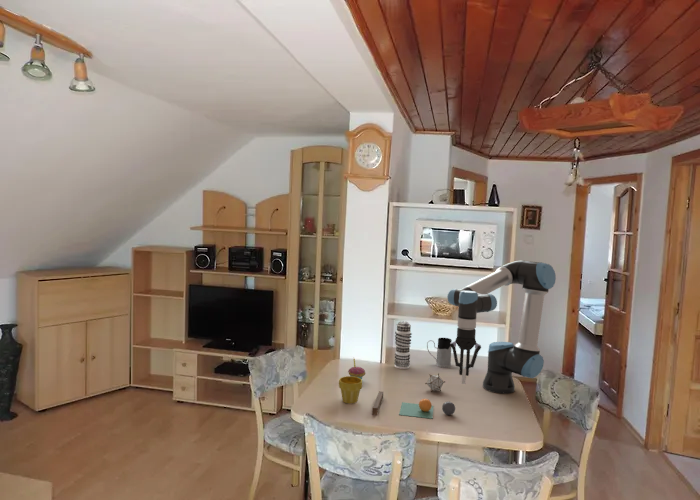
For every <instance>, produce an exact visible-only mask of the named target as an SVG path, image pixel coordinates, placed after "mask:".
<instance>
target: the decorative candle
mask: <svg viewBox="0 0 700 500" xmlns="http://www.w3.org/2000/svg"><path fill="white" fill-rule="evenodd" d="M411 327H412V326H411V324H410V322H408V321H404V320H403V321H399V322H398V323H396V331H395V333H394V334H395V335H394V337H395V338H394V340H395V342H394V343H395V353H394V368H396V369H401V370H407V369H409V368H410V365H411V364H410V363H411V360H410V359H411V354H410V353H411V352H410V348H411V344H412V342H411V341H412V339H411V338H412V335H413V333H412V332H411Z"/></svg>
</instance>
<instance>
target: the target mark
mask: <svg viewBox="0 0 700 500" xmlns="http://www.w3.org/2000/svg"><path fill="white" fill-rule="evenodd" d="M400 405H401V406H400V409H399V412H398V415H399V416H404V417H405V416H406V417H412V418H422V419H429V420H431V419H432V420H433V418H434V407H435V406H434V405H432V407H431V409H430V410H429V411H428V412H423V411H422V410H421V409H420V408H419V403H414V402H413V403H412V402H404V401H402V402H401V404H400Z"/></svg>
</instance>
